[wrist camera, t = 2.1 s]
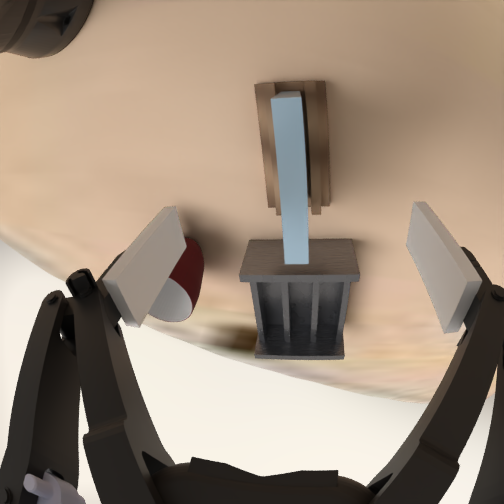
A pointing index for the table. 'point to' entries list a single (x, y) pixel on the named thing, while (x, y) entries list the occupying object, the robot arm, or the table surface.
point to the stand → (313, 134)
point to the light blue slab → (291, 174)
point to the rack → (300, 298)
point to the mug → (181, 286)
